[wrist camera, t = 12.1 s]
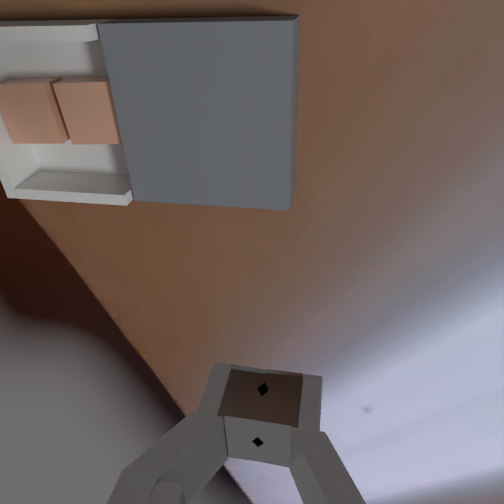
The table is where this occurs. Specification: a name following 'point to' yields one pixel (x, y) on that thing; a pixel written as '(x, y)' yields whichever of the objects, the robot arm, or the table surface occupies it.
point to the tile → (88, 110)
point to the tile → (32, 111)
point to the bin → (67, 155)
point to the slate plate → (206, 107)
